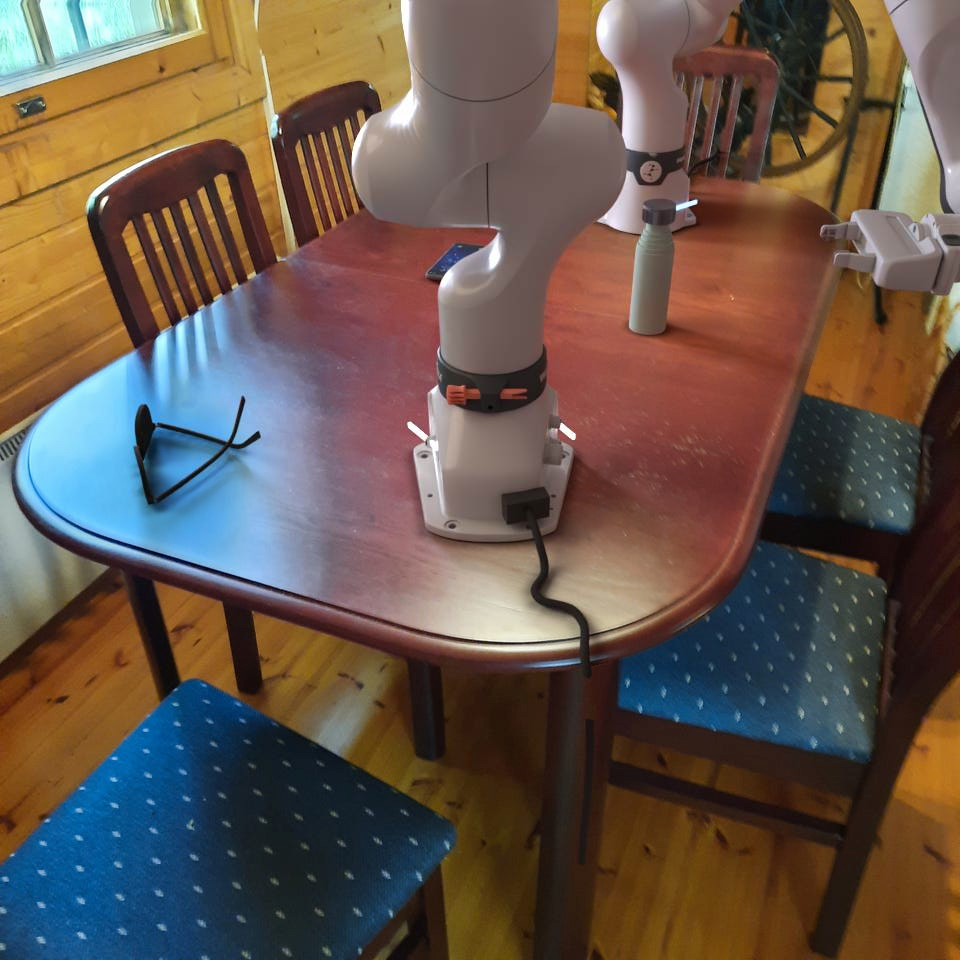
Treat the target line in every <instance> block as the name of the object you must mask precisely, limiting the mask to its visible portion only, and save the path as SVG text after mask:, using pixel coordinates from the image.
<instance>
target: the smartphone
mask: <svg viewBox="0 0 960 960" xmlns="http://www.w3.org/2000/svg"><path fill="white" fill-rule="evenodd" d="M486 246H487V245H479V244H472V243H471V244H470V243H463V242H455V243H453V244H452V245H451V246H450V247H449V248H448V250H446V251H445V252H444V253H443V254H442V255H441V256H440V258H438V259H437V260H436V262H435V263H434V264H433V265H431V267H430V268H429V269H428V270H427V271H426V272H425V274H424V275H425V278H426V279H427V280H433V281H440V282H441V281H442V279H443V277H444V275H445V274H446V273H447V271H448V270H449V269H450V268H451V267H452V266H453V265H455V264H456V263H457V262H459V261H460V260H461V259H463V258H465V257H467V256H469V255H471V254H473V253H475V252H477V251H479V250H481V249H482V248H484V247H486Z"/></svg>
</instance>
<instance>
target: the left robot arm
mask: <svg viewBox="0 0 960 960" xmlns="http://www.w3.org/2000/svg"><path fill="white" fill-rule="evenodd" d="M400 5H401V6H400V7H401V19H402V27H403V33H404V40H405V45H406V51H407V56H408V57H407V58H408V62H409V69H410V77H411V79H410V81H411V88H410V90H408V92H407V93H406V94H405V95H404V96H403V97H402V98H401V99H400V100H399V101H397V102H395V103H394V104H393V105H391V106H389V107H388V108H385V109H383V110H382V111H379V112H377V113H374V114H372V115H370V116H369V118H368V119H366V121H365V122H364V124H363V125H362V127H361V129H360V130H359V132H358V134H357V137H356V138H355V141H354V144H353V149H352V154H351V176H352V180H353V184H354V187H355V190H356V193H357V195H358V197H359V199H360V201H361V202H362V204H363V205H364V207H365V208H366V210H367V211H368V212H369V213H370V214H371V215H372V216H373V217H374V218H375V219H377V220H379V221H383V222H388V223H392V224H397V225H403V226H409V227H413V228H419V229H484V228H485V229H486V228H487V229H488V228H489V229H494V230H496V231H497V233H496V235H495V237H494V238H493V239H492V240H491V241H490V242H489V243H488V244H487V245H485V246H486V247H484V248H482V249H481V250H479V251H477V252H475V253H473V254H471V255H469V256H467V257H465V258H463V259H461V260H460V261H459V262H457V263H456V264H455V265H453V266H452V267H451V268H450V269H449V270H448V271H447V273H446V274H445V275H444V277H443V279H442V281H440V283H439V286H438V290H437V307H438V324H439V326H438V327H439V340H440V341H439V342H440V345H439V346H438V348H437V354H436V356H437V358H436V363H435V364H436V376H437V384H436V385H435V387H434V386H433V388H432V389H431V390H430V391H428V392H427V406H428V407H427V409H428V424H429V435H427V434H425V433H424V432H423V431H422V430H421V429H420V428H419V427H418V426H416V425H415V424H413V423H412V422H411V421H409V422H407V427H408V429H410V430H411V431H412V432H413V433H414V434H416V435H417V436H418V437H419V438H420V439H422V440H423V441H424V442H422V443H419V444H417V445H416V446H415V447H414V448H413V454H412V455H413V457H412V458H413V464H414V470H415V475H416V476H415V477H416V480H417V487H418V492H419V498H420V499H419V500H420V503H421V504H420V505H421V510H422V516H423V522H424V526H425V529H426V530H427V531H428V532H429V533H432V534H434V535H437V536H440V537H443V538H448V539H452V540H457V541H466V542H477V543H478V542H480V543H500V542H501V543H502V542H503V543H506V542H518V541H527V540H531V539H533V541H534V544H535V548H536V552H537V555H538V559H539V566H540V570H539V575H538V577H536V579H535V580H534V581H533V583H532V585H530V595H531V597H532V599H533V600H534V601H535V602H536V603H537V604H539V605H541V606H543V607H546V608H551V609H556V610H560V611H564V612H566V613H568V614H570V615H571V616H572V617H573V618H574V619H575V621H576V623H578V626H579V635H580V636H579V658H580V659H579V660H580V669H581V674H582V676H583V678H585V679H591V677H592V674H593V673H592V665H591V657H590V656H591V655H590V642H591V641H590V638H591V637H590V635H591V634H590V626H589V623H588V621H587V618H586V617H585V616H586V615H584V613H583V612H582V611H581V610H580V609H579V608H578V607H577V606H575V605H574V604H572V603H570V602H567V601H563V600H558V599H553V598H550V597H546V596H545V595H542V594H541V591H540V590H541V588H542V586H543V585H544V584H545V582H546V580H547V579H548V578H549V577H548V576H549V573H550V572H549V571H550V564H549V557H548V553H547V550H546V546H545V543H544V539H543V536H546V535H548V534H550V533H552V532H554V531H556V530H557V527H558V525H559V520H560V518H561V517H560V516H561V512H562V508H563V504H564V500H565V497H566V492H567V488H568V483H569V480H570V476H571V472H572V469H573V468H572V467H573V464H574V459H575V450H574V447H573V446H571V445H570V444H568V443H566V442H563V441H561V439H560V438H558V430H560V431H561V432H562V433H564V434H565V435H566V436H567V437H569V438H570V439H571V440H572V441H573V440H576V433H574V432H573V431H572V430H571V429H569V428H568V427H567V426H566V425H565V424H563V423H562V416H559V392H557V391H556V390H555V389H554V388H553V387H552V386H551V385H550V384H549V383H548V382H547V379H548V367H549V361H548V356H547V355H548V354H547V353H548V351H547V347H546V345H545V344H544V332H545V331H544V330H545V329H544V328H545V316H546V307H547V298H548V292H549V287H550V282H551V279H552V276H553V274H554V272H555V269H556V267H557V265H558V264H559V262H560V261H561V259H562V257H563V256H564V254H565V252H566V251H567V249H568V248H569V247H570V246H571V245H572V243H573V242H574V241H575V240H576V239H577V238H578V237H579V236H580V235H581V234H582V233H583V232H584V231H585V230H587V228H589V227H590V226H591V225H593V224H594V223H597V220H599V219H600V218H602V217H603V216H604V215H605V214H606V213H607V212H608V211H609V210H610V209H611V208H612V207H613V205H614V204H615V202H616V201H617V199H618V197H619V195H620V193H621V191H622V189H623V186H624V183H625V179H626V173H627V151H626V146H625V142H624V139H623V137H622V131H621V130H620V128H619V127H618V125H617V123H616V122H615V121H614V119H613V118H612V117H611V116H610V115H609V114H608V113H607V112H606V111H602V110H597V109H594V108H589V107H583V106H580V105H574V104H568V103H562V102H552V101H553V96H554V89H555V77H556V76H555V75H556V61H557V60H556V59H557V47H558V35H559V33H558V32H559V15H560V14H559V10H560V9H559V0H400ZM584 723H585V724H584V737H585V738H584V739H585V743H584V746H585V747H584V778H583V791H582V793H583V794H582V805H581V816H580V823H579V824H580V825H579V835H578V836H579V837H578V846H577V848H578V849H577V865H579V866H584V865H585V864H586V860H587V859H586V858H587V845H588V833H589V825H590V816H591V806H592V797H593V787H594V786H593V785H594V769H595V719H592V718H585V719H584Z"/></svg>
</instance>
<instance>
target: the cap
mask: <svg viewBox="0 0 960 960" xmlns="http://www.w3.org/2000/svg"><path fill="white" fill-rule="evenodd" d="M675 216H676V203H675V202H673V201H671V200H667V199H650V200H647V201H645V202H644V203H643V209H642V220H643V221H644V222H645V223H647V224H651V225H668V224H672V223H673V222H674V221H675Z"/></svg>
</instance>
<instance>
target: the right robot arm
mask: <svg viewBox="0 0 960 960" xmlns="http://www.w3.org/2000/svg"><path fill="white" fill-rule="evenodd" d="M743 1H744V0H609V1H607V2H606V3H605V4H604V6H603V7H602V8H601V10H600V12H599V15H598V17H597V20H596V21H597V22H596V28H595V29H596V31H595V32H596V33H595V34H596V41H597V45H598V47H599V50H600V52H601V53H602V55H603V57H604V58H605V59H606V60H607V61H608V62H610V64H611V65H612V66H613V68H614V70H615V71H616V74H617V77H618V80H619V84H620V88H621V93H622V94H621V95H622V123H621V134H622V137H623V139H624V142H625V146H626V151H627V173H626V179H625V183H624V186H623V189H622V191H621V193H620V195H619V197H618V199H617V201H616V202H615V204H614V205H613V207H612V208H611V209H610V210H609V211H608V212H607V213H606V214H605V215H604V216H603V217H602V218H600V219H599V220H597V221H596V223H601V224H603V225H607V226H609V227H611V228H613V229H615V230H618V231H621V232H624V233H627V234H628V233H629V234H634V235H635V234H636V235H641V234H642V232H643V230H644V228H645V227H646V223H645V222H644V221H643V220H642V209H643V203H644V202H645V201H647V200H650V199H667V200H671V201H673V202H675V203H676V216H675V221H674V222H673V223H672V224H670V226H669V228H670V229H671V233H673V232H675V231H678V230H680V229H682V228H684V227H689V226H694V225H696V224H697V217H696V216H695V214H694V213H693V211H692V210H691V209H690V207H691V206H694V205H697V204H698V199H694V200H691V201H689V199H690V189H691V188H690V187H691V178H690V177H691V175H692V173H693V172H694V170H695V169H696V168H698V167H700V166H702V165H705V164H708V163H710V162H711V161H713V160H715V159H716V158H717V157H718V154H720V152H721V151H720V147H717V146H716V147H715V148H714V151H713V154H712V155H711V156H708V157H706V158H703V159H701V160H698V161H697V162H695V163H693V164H692V165H691V166H690V167H689V168H688V170H687V171H686V172H685V171H684V168H683V167H684V166H685V160H686V157H687V156H686V155H687V152H686V148H687V147H686V144H685V135H686V126H687V118H688V110H689V99H688V96H687V94H686V93H685V91H684V90H683V89H681V87H680V86H678V85H677V84H676V81H675V76H674V70H673V69H674V68H673V61H674V59H677V58H682V57H686V56H693V55H695V54H697V53H700V52H702V51H704V50H706V49H708V48H709V47H711V46H713V45H715V44H716V43H718V42H719V41H720V40H721V39H722V38H723V36H724V35H725V33H726V31H727V28H728V25H729V21H730V15H731V14H732V12H733V11H734V10H735V9H736V8H737V7H738V6H739V5H740V4H741V3H742V2H743ZM883 3H884V6H885V8H886V10H887V14H888V15H889V18H890V21H891V23H892V25H893V28H894V31H895V33H896V36H897V38H898V40H899V43H900V45H901V49H902V50H903V53H904V55H905V58H906V61H907V64H908V67H909V69H910V73H911V76H912V79H913V82H914V85H915V90H916V94H917V96H918V100H919V101H918V102H919V105H920V107H921V110H922V113H923V117H924V120H925V123H926V127H927V129H928V132H929V135H930V138H931V141H932V145H933V148H934V152H935V154H936V156H937V157H936V158H937V160H938V166H939V171H940V172H939V173H940V175H939V177H940V178H939V203H940V207H941V210H942V212H943V213H939V212H935V213H934V212H933V213H931V212H929V213H926V214H925V215H924V216H923V217H922V218H921V220H920V221H919V222H917V221H914V220H913V219H912V217H911V216H910V215H909V214H907V213H904V212H899V211H894V210H884V209H883V210H881V209H867V208H866V209H865V208H863V209H856V210H854V211H853V212H852V213H851V216H850V221H844V222H840V223H837V224H823V225H822V226H821V228H820V233H819V236H820V238H821V240H822V241H823V242H835V240H838V239H839V240H840V239H844V240H848V241H849V240H850V241H852V243H853V245H854V247H855V249H856V250H857V253H856V252H850V250H848V249H847V250H845V249H843V250H842V249H837V250H835V251H833V256H832V259H831V261H832V263H833V266H834V267H835V268H848V269H850V270H853V271H857V272H860V273H868V274H870V276H871V278H872V279H873V281H874V283H875V285H876V286H877V287H880V288H882V289H886V290H890V291H897V292H898V291H900V292H909V293H911V292H914V293H928V292H930V293H931V294H932V295H933V296H939V297H940V296H941V297H943V296H949V295H950V293H951V292H952V289H953V286H954V284H959V283H960V0H883Z"/></svg>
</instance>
